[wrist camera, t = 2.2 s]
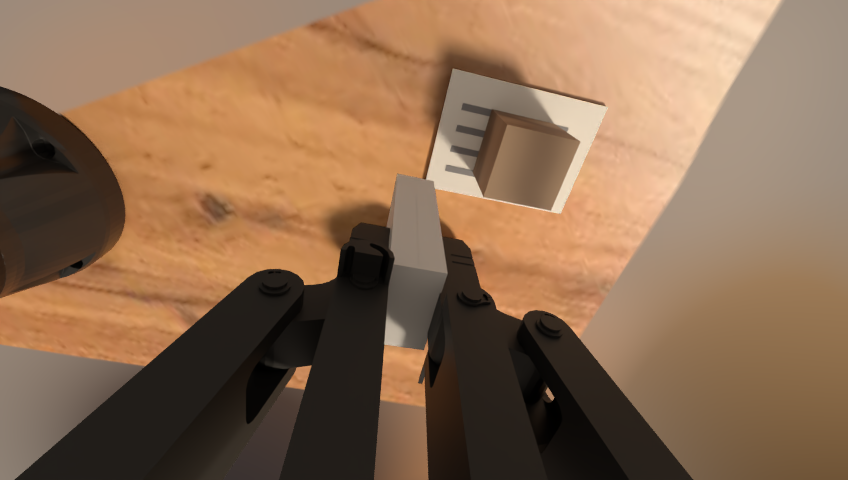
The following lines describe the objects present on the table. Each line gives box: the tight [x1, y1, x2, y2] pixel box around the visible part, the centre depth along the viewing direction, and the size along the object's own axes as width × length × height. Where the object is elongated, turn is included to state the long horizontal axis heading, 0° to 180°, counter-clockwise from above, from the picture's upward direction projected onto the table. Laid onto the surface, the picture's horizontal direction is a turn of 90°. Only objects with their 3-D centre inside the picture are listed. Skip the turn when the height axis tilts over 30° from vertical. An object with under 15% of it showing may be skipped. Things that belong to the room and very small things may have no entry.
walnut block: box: [473, 109, 580, 211], centre depth 27 cm, size 5×5×5 cm
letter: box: [426, 68, 608, 214], centre depth 30 cm, size 12×9×1 cm
